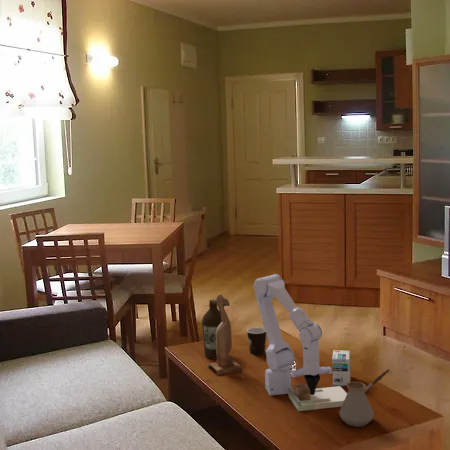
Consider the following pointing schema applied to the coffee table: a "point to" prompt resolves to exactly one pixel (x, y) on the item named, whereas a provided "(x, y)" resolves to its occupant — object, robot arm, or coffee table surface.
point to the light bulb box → (341, 367)
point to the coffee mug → (256, 340)
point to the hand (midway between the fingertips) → (311, 393)
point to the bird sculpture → (224, 342)
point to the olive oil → (211, 329)
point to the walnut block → (302, 392)
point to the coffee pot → (358, 404)
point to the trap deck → (320, 399)
